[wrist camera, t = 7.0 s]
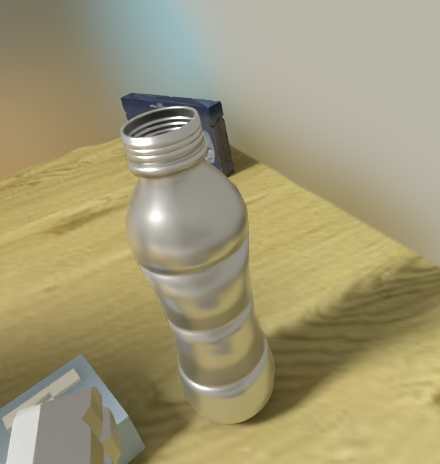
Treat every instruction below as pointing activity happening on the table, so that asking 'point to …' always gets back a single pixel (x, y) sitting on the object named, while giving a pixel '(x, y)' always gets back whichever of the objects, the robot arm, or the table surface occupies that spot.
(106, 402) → the letter block
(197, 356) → the plastic bottle
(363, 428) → the table surface
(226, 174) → the vhs cassette tape
